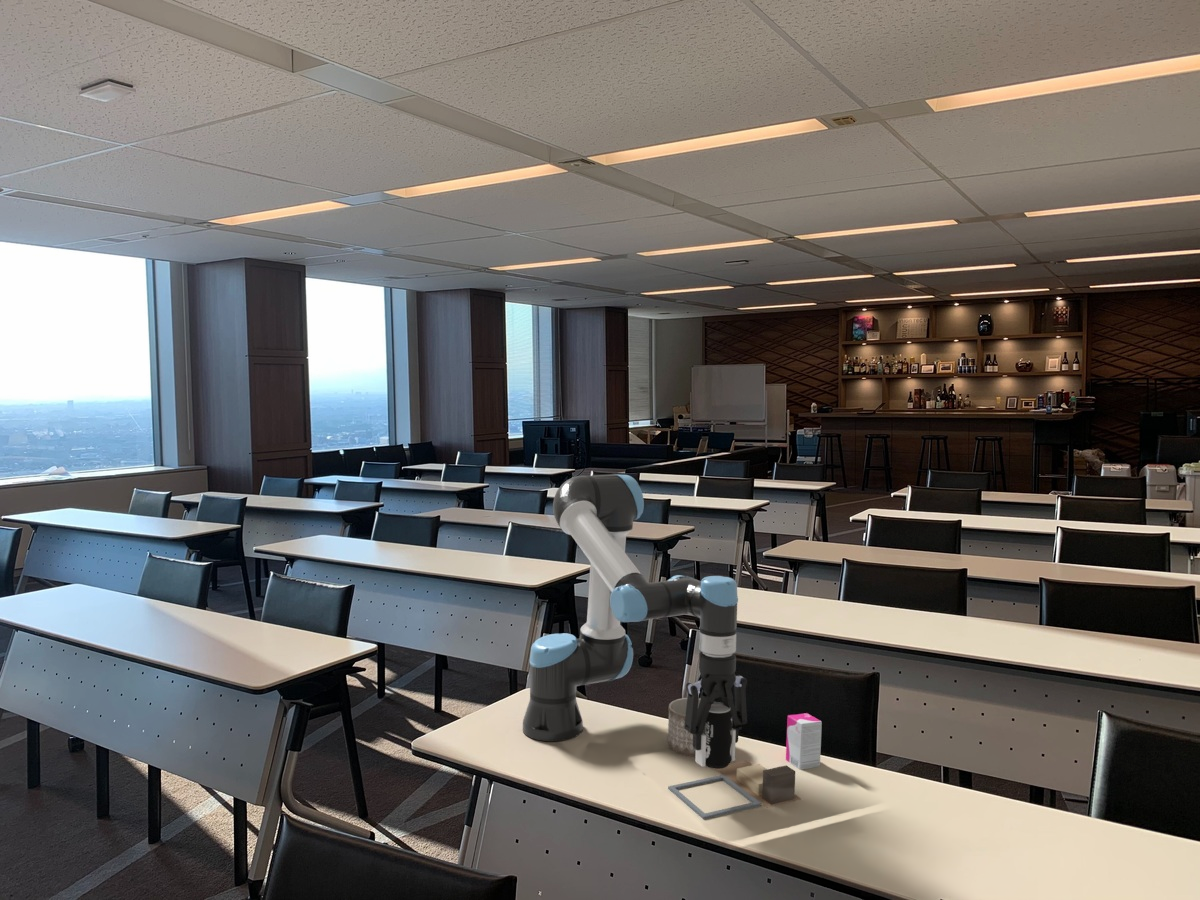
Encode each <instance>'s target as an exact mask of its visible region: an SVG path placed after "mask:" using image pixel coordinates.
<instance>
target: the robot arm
mask: <svg viewBox="0 0 1200 900" xmlns="http://www.w3.org/2000/svg"><path fill="white" fill-rule="evenodd" d="M644 500H645V499H644V495H643V492H642V489H641V487H640V485H639V483H638V481H637V480H636V479H635V478H634V477H632V476H631V475H628V474H616V473H612V474H597V475H596V474H595V475H576V476H573V477H571V478H569V479H566V481H564V482H563V483H562V484H561V485H560V487H559V488H558V489H557V490H556V492H555V495H554V497H553V503H552V510H553V511H552V512H553V516H554V520H555V521H556V523H557V525H558V526H559V528H560V529H561V531H562V532H563V533H565V534H566V535H569V536H571V537H572V539H573V540H574V541H575V543H576V544H577V546H579V548H580V549H581V551H582V552H583V554H584V556H585V557H586V558H587V559H588V561H589V563H590V567H589V583H588V599H587V611H586V612H587V615H586V622H585V623H584V624H583V625H582V626H581V627H580V633H579V634H580V635H579V638H577V637H576V636H575V635H574V634H571V633H566V632H565V633H564V632H563V633H558V632H557V633H551V634H547V635H543V636H541V637H539V638H538V639H536V640H535V641H534V642H533V643H532V645H531V647H530V656H529V665H530V666H529V667H530V668H529V701H528V705H527V708H526V711H525V713H524V716H523V718H522V732H523V734H524V735H525V736H526V737H528V738H530V739H532V740H537V741H544V742H560V741H561V742H562V741H567V740H571V739H574V738H576V737H578V736H580V735H581V734H582V732H583V725H584V724H583V722H584V721H583V718H582V714H581V710H580V707H579V704H578V701H577V687H580V686H584V685H585V686H587V685H591V684H597V683H603V682H611V681H614V680H616V679H621V678H623V677H625V676H626V675H627V674H628V673H629V671H630V670H631V667H632V665H633V659H634V648H633V647H632V639H630V637H629V635H628V634H626V629H625V628H624V627H623V626H622V625H621V623H630V622H631V623H632V622H633V623H639V622H643V621H649V620H654V619H656V620H657V619H660V618H661V619H662V618H668V617H669V618H671V617H677V616H683V615H690V616H692V617H695V618H697V619H699V644H698V645H699V646H698V647H699V648H698V649H699V651H700V652H699V655H698V657H699V658H698V659H699V660H698V663H699V664H698V669H699V677H698V679H697V680H696V681H695V682H693V683H691V682H688V683H686V685H685V688H686V693H687V697H686V698H687V706H686V716H685V725H684V728H685V730H687V731H688V732H690V733H691V734H693V748H694V749H696V754H695V756H694V757H695V763H696V764H697V765H699V766H701V767H702V768H703V767H706V766H705V762H706V735H705V734H703V731H704V728H705V724H706V721H707V717H708V715H709V710H710V708H711V705H712V704H713V703H714V702H715V699H719V698H721V703H723V704H724V705H725V706H727V707H728V708H729V707H730V711H731V713H732V754H731V762H732V761H736V743H738V742H739V731H741V730H742V727H743V725H746V724H747V723H748V715H747V713H748V712H747V697H746V693H747V692H746V688H747V684H748V679H747V678H746V677H743V676H742V675H740V674H738V675H736V674H735V672H736V670H737V667H736V665H737V654H735V653H736V652H737V628H738V627H737V626H738V625H737V624H738V603H739V597H738V584H737V582H736V580H735V579H734V578H732V577H728V576H723V575H710V576H708V575H707V576H705V577H703V578H702V579H701V580H698V579H696V578H694V577H691V576H689V575H681V574H680V575H679V574H676V575H673V576H672V577H670V578H669V579H667V580H665V581H655V582H654V581H652V582H649V581H648V580H647V579H646V577H645V576H644V575H643V574H642V573H641V572H640V570H639V569H638V568H637V567H636V565H635V564H634V563H633V561H632V560H631V559H630V557H629V555H628V554H626V544H627V543H626V542H627V541H626V540H627V535H628V534H629V533H630V532H632V531H633V525H634V521H637V520H638V519H640V517H641V516H642V514H643V512H644V506H645V502H644ZM732 687H733V690H734V691H733V692H732ZM700 690H701V691H700ZM733 694H734V696H733ZM699 698H701V700H700V703H699V707H698V701H699ZM733 699H734V700H733Z"/></svg>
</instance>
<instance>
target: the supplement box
mask: <svg viewBox="0 0 1200 900" xmlns="http://www.w3.org/2000/svg"><path fill="white" fill-rule="evenodd" d="M786 720H787V721H786V723H787V725H786V741H785V744H786V747H785V761H786V762H788V763H790V765H792V766H793V767H795V768H796V769H798V770H805V769H806V770H807V769H811V768H817V767H820V766H821V750H822V749H821V747H822V725H823V724H822V720H820V719H818V718H816V717H815V716H812V715H811V714H809V713H808V712H806V713H798V714H788V715H787V719H786Z"/></svg>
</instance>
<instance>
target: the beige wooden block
mask: <svg viewBox="0 0 1200 900" xmlns="http://www.w3.org/2000/svg"><path fill="white" fill-rule="evenodd" d="M767 769H768V768H766V767H765V766H763V765H761V764H760V763H758V764H757V763H756V764H752V765H751V766H747V767H742V768H737V780H738V781H739V782H740V783H742V784H743V785H744V786H746V787H747V788H749V789H750V790H751V791H753V792H754V793H755V794H757V795H758V796H759V795H762V789H763V770H767Z"/></svg>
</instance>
